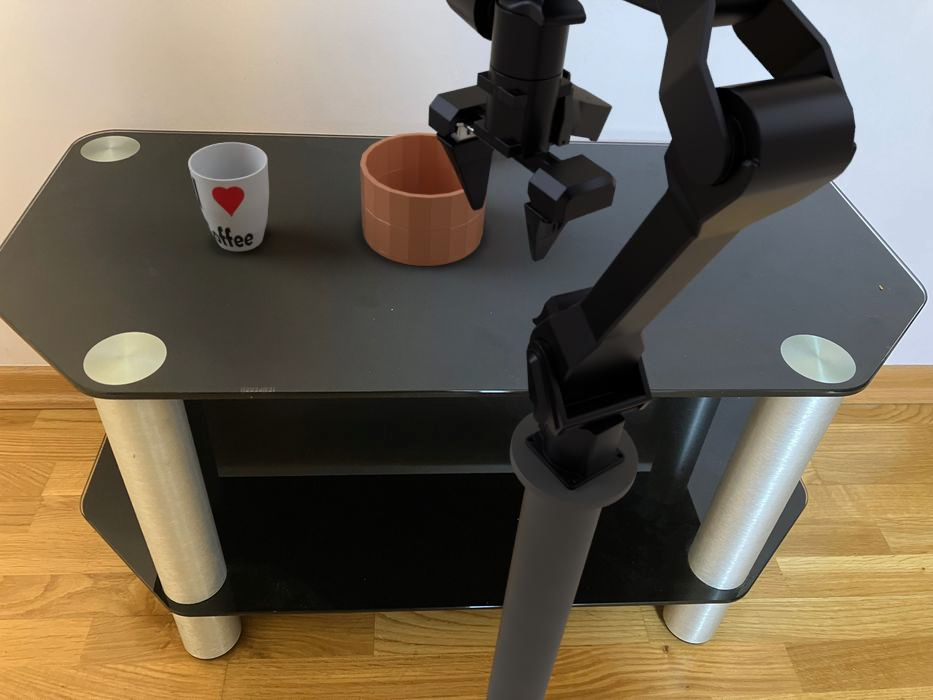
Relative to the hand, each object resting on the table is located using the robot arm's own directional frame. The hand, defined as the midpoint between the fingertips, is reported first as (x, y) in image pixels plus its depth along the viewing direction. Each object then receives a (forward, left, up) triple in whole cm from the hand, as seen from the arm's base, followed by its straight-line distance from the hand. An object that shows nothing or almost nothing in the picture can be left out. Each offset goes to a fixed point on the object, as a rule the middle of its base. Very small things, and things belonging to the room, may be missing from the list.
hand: (506, 233), depth 71 cm
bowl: (+20, -4, -13) cm, 24 cm away
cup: (+29, +15, -13) cm, 35 cm away
